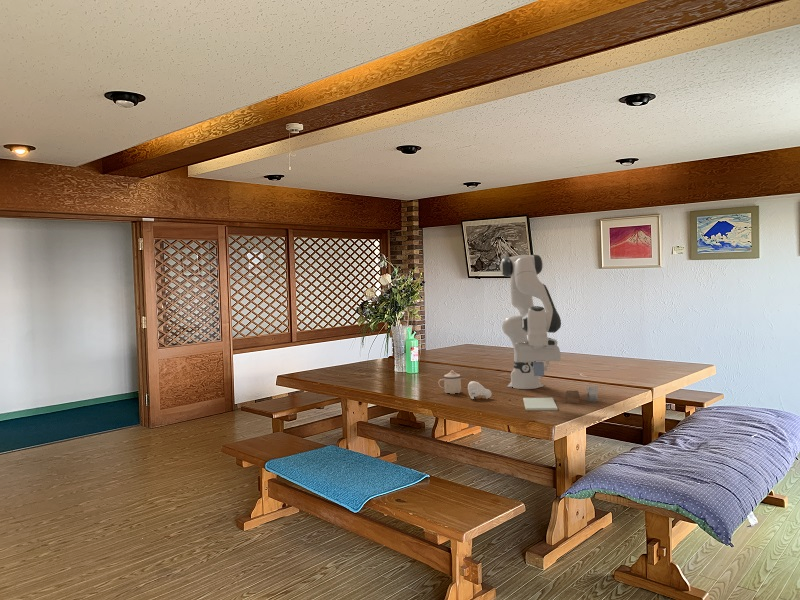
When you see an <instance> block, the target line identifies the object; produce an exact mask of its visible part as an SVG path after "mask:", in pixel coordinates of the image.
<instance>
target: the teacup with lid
mask: <svg viewBox="0 0 800 600" xmlns="http://www.w3.org/2000/svg"><path fill="white" fill-rule="evenodd" d="M461 377H462V376H461V374H460V373H459V374H458V373H457V372H455V371H454V370H450V372H448V373H447V374H446V373H445V374H444V375H443V378H441V379H439V380H438V381H437V383H438V385H439V387H440V388H441V389H444V393H445V394H447V393H450V394H449V395H456V394H455V393H458V394H460V393H461V392H462V384H461V382H462V381H461V380H462V378H461ZM441 381H444V383H443V384H444V385H443V386H442V385H441Z"/></svg>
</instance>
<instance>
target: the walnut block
mask: <svg viewBox="0 0 800 600" xmlns="http://www.w3.org/2000/svg"><path fill="white" fill-rule="evenodd" d="M567 401H568V402H567ZM566 402H567V403H568V404H580V392H579V391H578V390H566Z"/></svg>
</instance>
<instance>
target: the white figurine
mask: <svg viewBox="0 0 800 600" xmlns="http://www.w3.org/2000/svg"><path fill="white" fill-rule="evenodd" d="M467 393H468V395H469V397H470V399H472V400H473V399H474V400H475V398H476V397H481V396H482V397H483V396H484V397H485V399H486V400H488V398H489V399H490V398H491V396H492V394H493V393H492V390H490V389H487V388H486V387H484V386H483V385H482V384H481V383H480V382H478V381H473V380H472V381H469V383H468V384H467ZM474 397H475V398H474Z"/></svg>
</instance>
